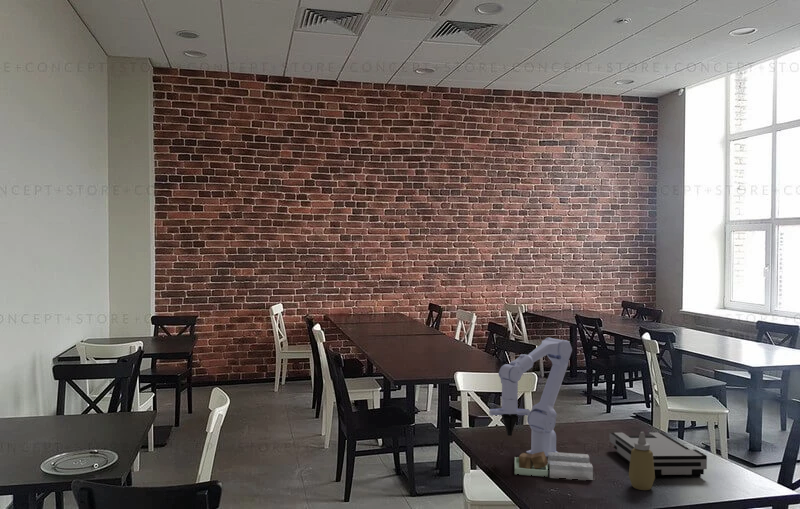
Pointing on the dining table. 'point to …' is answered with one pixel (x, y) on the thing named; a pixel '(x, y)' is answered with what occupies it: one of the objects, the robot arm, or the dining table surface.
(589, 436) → the dining table surface
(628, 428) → the dining table surface
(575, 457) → the slot block
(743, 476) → the dining table surface
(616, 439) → the game console
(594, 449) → the dining table surface
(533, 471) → the tray
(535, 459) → the chip
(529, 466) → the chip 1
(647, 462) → the squeeze bottle
